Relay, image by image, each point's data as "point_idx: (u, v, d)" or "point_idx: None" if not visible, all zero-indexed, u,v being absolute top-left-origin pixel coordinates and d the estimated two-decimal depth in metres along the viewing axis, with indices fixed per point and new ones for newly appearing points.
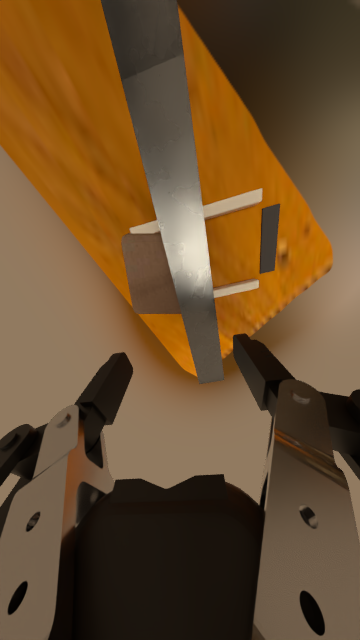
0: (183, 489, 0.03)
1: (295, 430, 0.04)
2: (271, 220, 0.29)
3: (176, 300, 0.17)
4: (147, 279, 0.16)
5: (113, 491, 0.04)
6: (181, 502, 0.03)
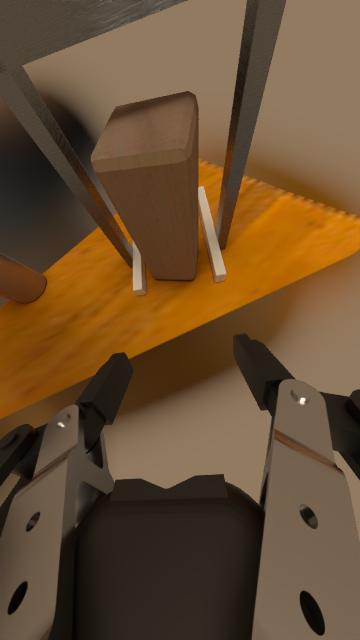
0: (183, 489, 0.03)
1: (295, 430, 0.04)
2: None
3: (171, 107, 0.12)
4: (137, 132, 0.12)
5: (113, 491, 0.04)
6: (181, 502, 0.03)
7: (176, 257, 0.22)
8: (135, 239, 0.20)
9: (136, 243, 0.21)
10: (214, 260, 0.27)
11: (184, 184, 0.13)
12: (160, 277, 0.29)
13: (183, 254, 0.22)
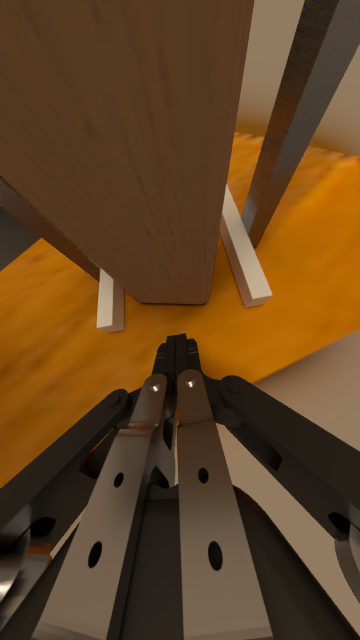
0: None
1: (191, 410, 0.05)
2: None
3: None
4: None
5: None
6: None
7: (174, 267, 0.10)
8: (60, 225, 0.07)
9: (71, 237, 0.08)
10: (246, 268, 0.15)
11: None
12: (147, 301, 0.16)
13: (190, 261, 0.09)
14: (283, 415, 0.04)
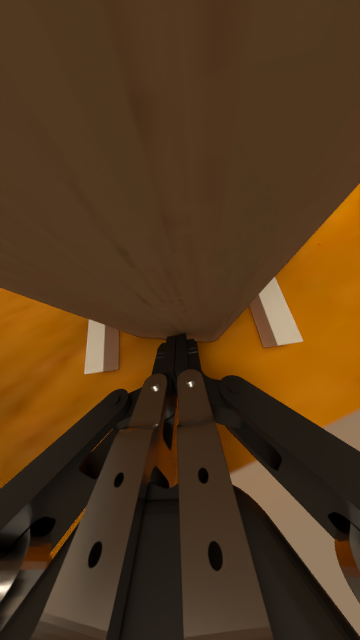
0: None
1: (191, 410, 0.05)
2: None
3: None
4: None
5: None
6: None
7: (181, 323, 0.07)
8: (7, 288, 0.05)
9: None
10: (267, 303, 0.12)
11: None
12: (146, 336, 0.14)
13: (206, 322, 0.06)
14: (282, 415, 0.04)
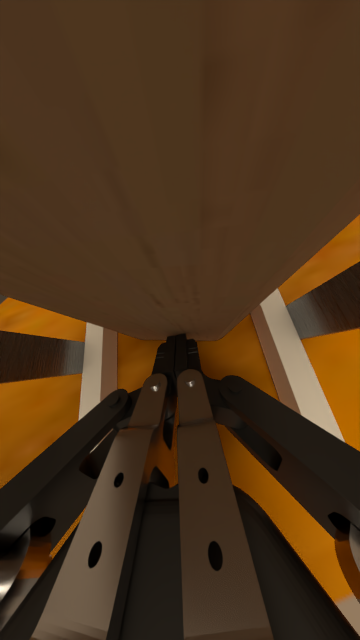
0: None
1: (191, 410, 0.05)
2: None
3: None
4: None
5: None
6: None
7: (190, 324, 0.07)
8: (10, 296, 0.04)
9: None
10: (304, 406, 0.09)
11: None
12: (149, 339, 0.14)
13: (216, 320, 0.06)
14: (283, 415, 0.04)
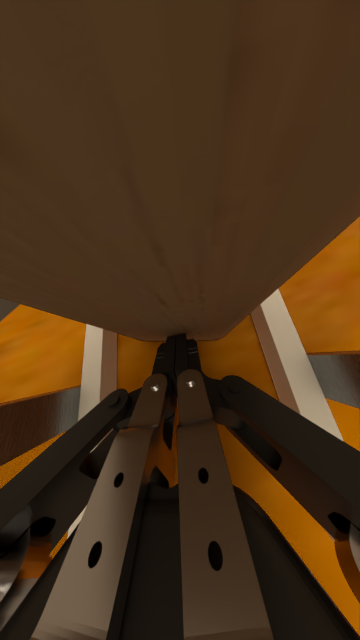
0: None
1: (191, 410, 0.05)
2: None
3: None
4: None
5: None
6: None
7: (193, 323, 0.07)
8: (13, 300, 0.04)
9: (36, 307, 0.05)
10: None
11: None
12: (151, 340, 0.14)
13: (220, 319, 0.06)
14: (283, 415, 0.04)
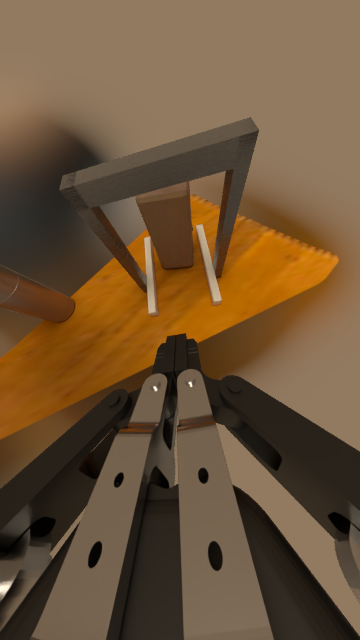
0: None
1: (191, 410, 0.05)
2: None
3: None
4: None
5: None
6: None
7: (180, 249, 0.34)
8: (153, 239, 0.31)
9: (154, 242, 0.32)
10: (212, 288, 0.35)
11: (185, 205, 0.24)
12: (168, 266, 0.40)
13: (184, 246, 0.33)
14: (283, 415, 0.04)
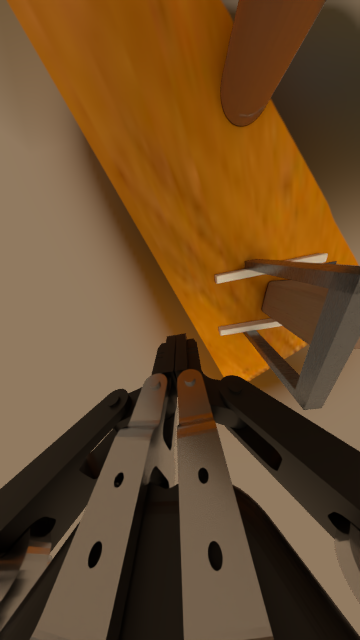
0: None
1: (191, 410, 0.05)
2: None
3: (357, 341, 0.24)
4: None
5: None
6: None
7: (278, 312, 0.34)
8: (297, 294, 0.28)
9: (295, 292, 0.29)
10: (231, 329, 0.43)
11: (306, 341, 0.27)
12: (268, 288, 0.38)
13: (278, 317, 0.34)
14: (283, 415, 0.04)
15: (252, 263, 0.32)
